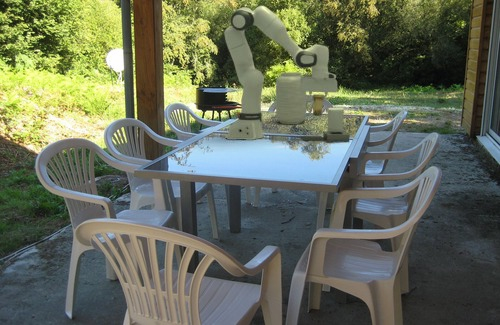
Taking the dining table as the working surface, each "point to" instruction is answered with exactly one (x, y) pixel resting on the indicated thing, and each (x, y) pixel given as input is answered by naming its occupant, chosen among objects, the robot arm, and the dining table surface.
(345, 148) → the dining table surface
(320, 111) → the knob
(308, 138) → the mat
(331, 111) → the supplement box
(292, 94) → the vase
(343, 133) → the housing
